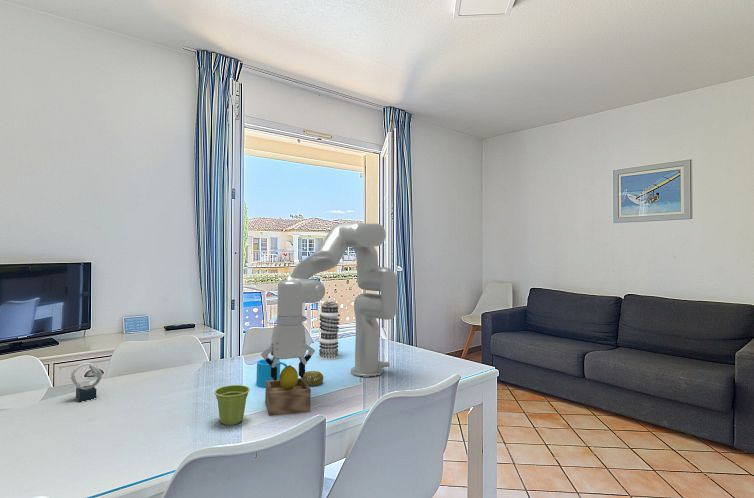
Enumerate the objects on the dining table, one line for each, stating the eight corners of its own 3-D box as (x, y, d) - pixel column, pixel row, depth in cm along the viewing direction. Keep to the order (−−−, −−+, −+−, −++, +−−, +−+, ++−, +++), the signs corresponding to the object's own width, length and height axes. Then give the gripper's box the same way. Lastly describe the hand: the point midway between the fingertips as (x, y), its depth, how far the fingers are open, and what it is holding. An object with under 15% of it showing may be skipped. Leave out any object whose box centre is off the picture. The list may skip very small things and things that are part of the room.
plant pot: (214, 430, 113) (215, 397, 113) (212, 417, 122) (213, 386, 122) (250, 425, 117) (251, 393, 117) (246, 412, 125) (247, 383, 125)
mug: (262, 389, 146) (262, 365, 146) (252, 383, 152) (253, 360, 152) (293, 383, 154) (294, 361, 154) (283, 378, 160) (283, 356, 160)
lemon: (279, 388, 134) (281, 362, 134) (297, 388, 134) (299, 363, 134) (277, 393, 128) (279, 367, 128) (295, 394, 129) (297, 368, 129)
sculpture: (321, 369, 159) (325, 375, 152) (321, 379, 159) (324, 386, 152) (300, 370, 157) (302, 376, 149) (299, 381, 157) (302, 387, 149)
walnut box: (302, 399, 139) (303, 377, 139) (310, 412, 127) (310, 389, 128) (265, 402, 135) (265, 380, 135) (269, 417, 123) (269, 393, 123)
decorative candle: (321, 354, 197) (322, 300, 197) (340, 355, 196) (342, 301, 196) (315, 359, 188) (317, 302, 188) (336, 360, 187) (337, 303, 187)
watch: (103, 397, 134) (104, 362, 134) (72, 403, 129) (73, 367, 129) (98, 393, 138) (100, 359, 138) (68, 398, 132) (69, 363, 132)
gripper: (312, 317, 138) (311, 371, 138) (258, 320, 131) (256, 377, 131) (320, 321, 132) (318, 378, 132) (263, 324, 124) (261, 384, 124)
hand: (287, 377), depth 131 cm, fingers open, 7 cm apart
